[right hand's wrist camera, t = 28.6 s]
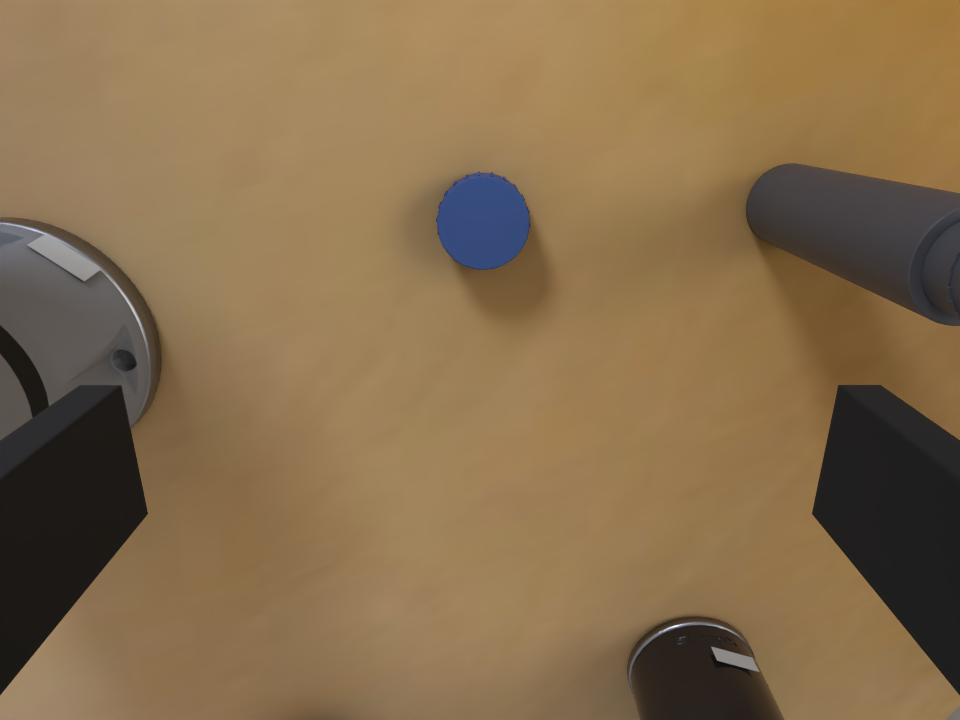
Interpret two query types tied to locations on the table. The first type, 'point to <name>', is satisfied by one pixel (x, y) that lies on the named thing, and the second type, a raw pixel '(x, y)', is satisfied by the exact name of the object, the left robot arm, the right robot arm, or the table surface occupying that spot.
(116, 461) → the right robot arm
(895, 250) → the dark gray cylinder
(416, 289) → the table surface
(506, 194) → the lid
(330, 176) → the table surface
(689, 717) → the left robot arm
